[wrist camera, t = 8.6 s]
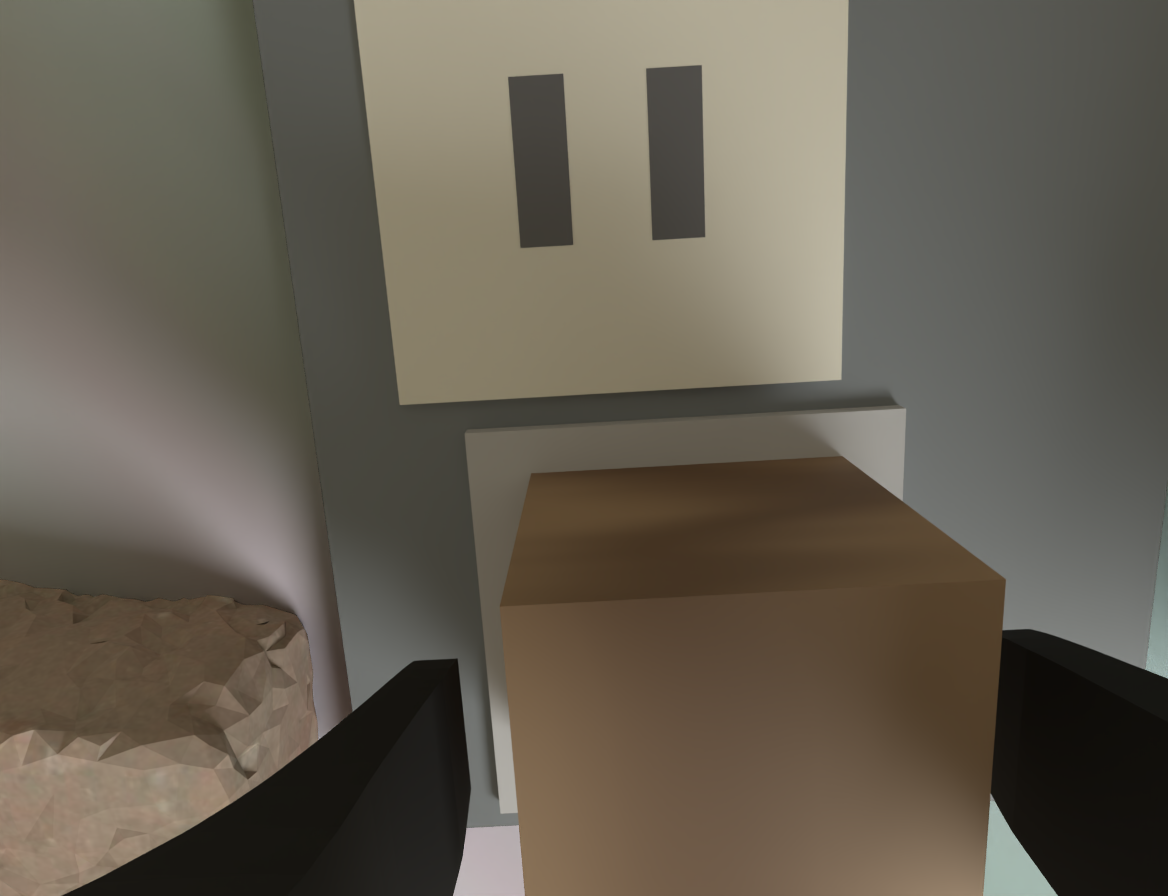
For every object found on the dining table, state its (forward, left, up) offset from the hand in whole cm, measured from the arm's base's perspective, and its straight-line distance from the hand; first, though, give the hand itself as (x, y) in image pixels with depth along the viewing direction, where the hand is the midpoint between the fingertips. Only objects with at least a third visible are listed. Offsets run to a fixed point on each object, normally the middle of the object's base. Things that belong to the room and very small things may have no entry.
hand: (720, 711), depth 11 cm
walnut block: (0, 0, -3) cm, 3 cm away
